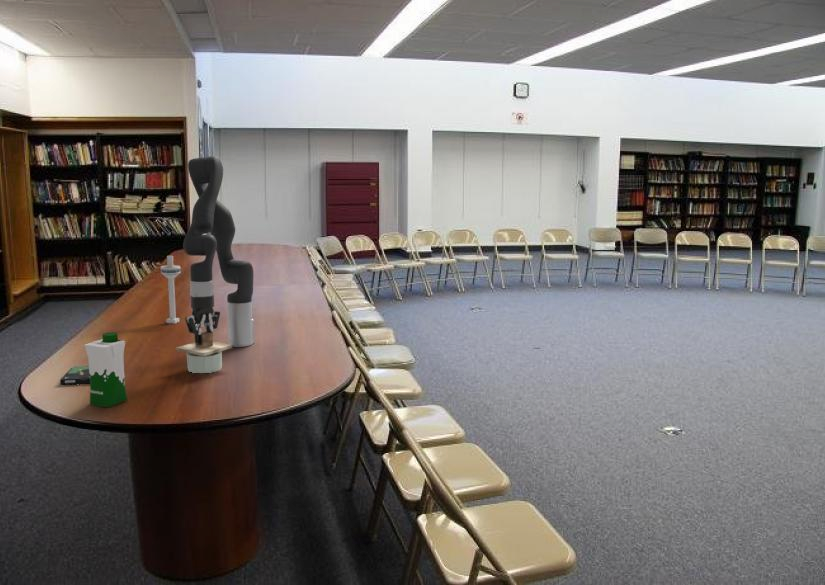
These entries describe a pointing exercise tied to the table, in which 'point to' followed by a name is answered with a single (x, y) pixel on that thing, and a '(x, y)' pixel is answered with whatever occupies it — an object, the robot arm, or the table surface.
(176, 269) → the model tower
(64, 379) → the disk drive
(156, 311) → the table surface
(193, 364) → the green bowl
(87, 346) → the milk carton
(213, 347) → the birch lid
